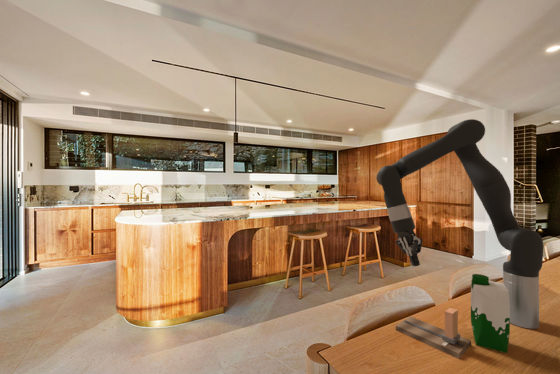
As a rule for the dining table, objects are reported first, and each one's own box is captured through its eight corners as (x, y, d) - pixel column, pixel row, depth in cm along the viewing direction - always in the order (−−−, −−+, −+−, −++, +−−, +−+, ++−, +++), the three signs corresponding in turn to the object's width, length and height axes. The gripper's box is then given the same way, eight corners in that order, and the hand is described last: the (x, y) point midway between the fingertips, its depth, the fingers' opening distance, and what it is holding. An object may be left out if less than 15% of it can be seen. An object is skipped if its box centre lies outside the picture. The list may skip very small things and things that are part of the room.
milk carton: (469, 332, 84) (469, 270, 84) (505, 340, 79) (505, 275, 79) (472, 346, 76) (472, 278, 76) (512, 356, 71) (512, 285, 71)
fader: (442, 339, 76) (442, 311, 76) (448, 333, 79) (448, 306, 79) (453, 344, 73) (453, 315, 74) (460, 338, 76) (460, 310, 77)
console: (395, 330, 85) (395, 324, 85) (410, 320, 91) (410, 315, 91) (458, 358, 70) (458, 352, 70) (471, 345, 76) (471, 339, 76)
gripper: (421, 213, 89) (438, 264, 85) (399, 218, 101) (413, 262, 98) (402, 218, 87) (419, 269, 84) (382, 222, 100) (396, 267, 97)
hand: (416, 265), depth 91 cm, fingers closed
